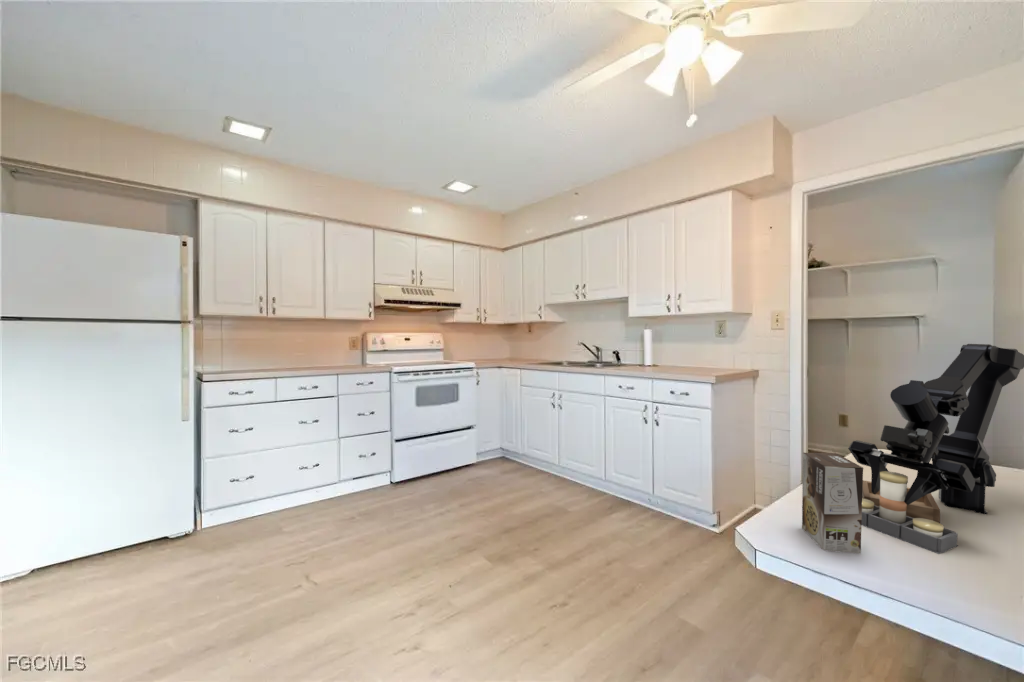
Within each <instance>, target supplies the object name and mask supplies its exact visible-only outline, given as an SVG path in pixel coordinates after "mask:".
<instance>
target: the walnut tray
mask: <svg viewBox="0 0 1024 682" xmlns="http://www.w3.org/2000/svg"><path fill="white" fill-rule="evenodd" d="M909 489H910V487H907V492H908V491H909ZM932 494H933V493H930V494H927V495H925V496H923V497H921V498H920V499H918V500H916V501H914V502H912V503H911V504H909V505H907V510H906V516H909V517H912V518H924V519H929V520H932V521H935V522H938V523H940V522H941V509H940V507H939V505H938V504H937V502H936V500H935V498H934V496H933V495H932ZM879 497H880V490H879V491H878V492H877V493H876V494H873V493H872V492H871V481H869V480H864V479H863V490H862V498H864V499H868V500H870V501H872V502H874V505H875V506H879V507H880V505H879ZM940 524H941V523H940Z"/></svg>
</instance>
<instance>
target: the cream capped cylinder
mask: <svg viewBox="0 0 1024 682" xmlns="http://www.w3.org/2000/svg"><path fill="white" fill-rule="evenodd" d="M908 483H909V476H907V475H906V474H904V473H900V472H895V471H891V470H888V471H882V472H880V497H879V505H880V509H879V517H880V518H882V519H885V520H888V521H891V522H894V523H897V524H903V523H906V510H907V504H905V502H904V500H905V497H906V494H907V488H908Z"/></svg>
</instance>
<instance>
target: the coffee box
mask: <svg viewBox="0 0 1024 682" xmlns="http://www.w3.org/2000/svg"><path fill="white" fill-rule="evenodd" d="M863 480H864V466H863V467H862V466H861V465H859V464H857V463H856V462H853V461H851V459H850V460H849V459H848V458H846V457H844V456H843V455H840V454H839V453H835V452H833V453H832V452H802V483H801V484H802V492H801V493H802V496H801V497H802V502H801V503H802V505H801V507H802V509H801V514H802V515H801V517H802V518H801V519H802V520H801V529H802V530H803V531H804V532H805V534H807V535H808V536H809V537H810V538H811V539H812V540H813V541H814V543H816V545H818V546H819V547H820V548H821V550H823V551H826V552H827V551H828V552H837V553H838V552H839V553H850V554H861V553H862V551H861V550H862V549H861V548H862V527H863V526H862V490H863Z"/></svg>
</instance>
